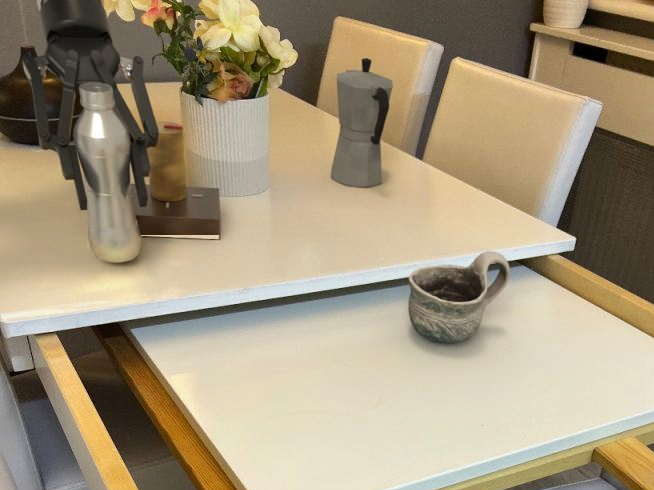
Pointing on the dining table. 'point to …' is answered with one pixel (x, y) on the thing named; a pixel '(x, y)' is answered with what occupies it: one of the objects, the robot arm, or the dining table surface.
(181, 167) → the candle
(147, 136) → the robot arm
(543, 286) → the dining table surface
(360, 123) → the coffeepot
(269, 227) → the dining table surface
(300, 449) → the dining table surface
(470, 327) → the mug
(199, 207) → the dark brown flat block
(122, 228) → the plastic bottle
